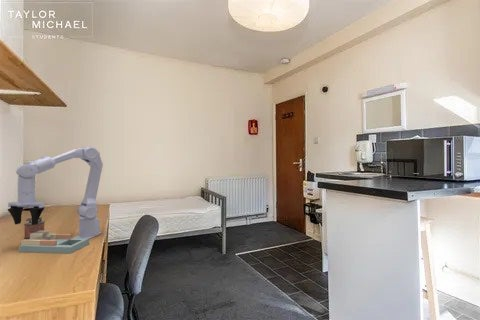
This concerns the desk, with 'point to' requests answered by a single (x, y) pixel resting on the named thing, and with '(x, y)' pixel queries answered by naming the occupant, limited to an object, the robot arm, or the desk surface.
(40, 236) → the block
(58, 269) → the desk surface
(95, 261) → the desk surface
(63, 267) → the desk surface
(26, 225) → the lighter
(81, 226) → the robot arm
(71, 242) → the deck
